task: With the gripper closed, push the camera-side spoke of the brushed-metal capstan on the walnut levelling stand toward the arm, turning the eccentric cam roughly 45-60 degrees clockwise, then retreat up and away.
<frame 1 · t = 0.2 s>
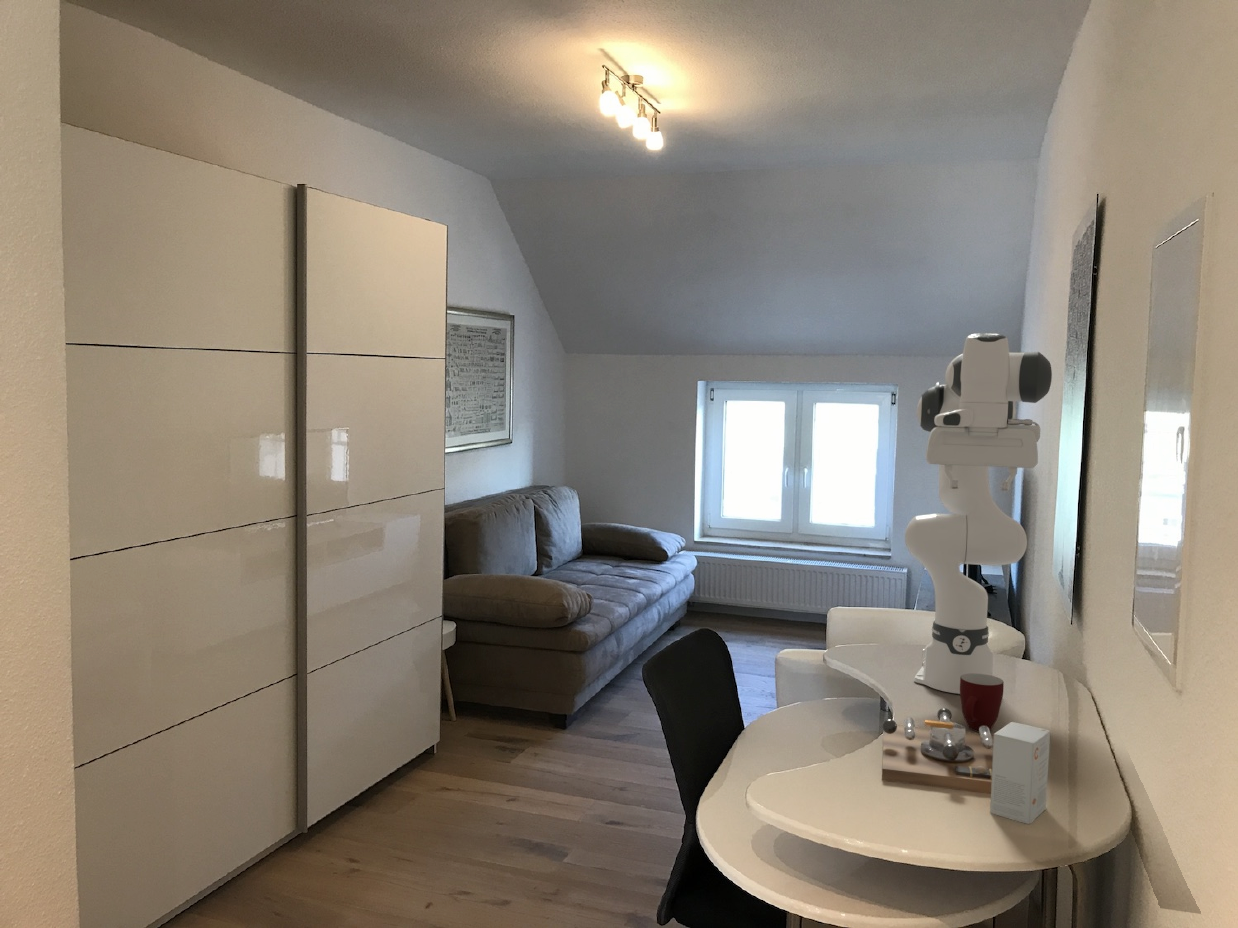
hand: (979, 489, 191), 48 cm above the table, fingers open, 8 cm apart
capstan: (946, 750, 177), point 2 cm above the table, hinge at 0.0°
mug: (977, 731, 195), on the table
small box: (1017, 812, 158), on the table
stand: (945, 762, 178), on the table
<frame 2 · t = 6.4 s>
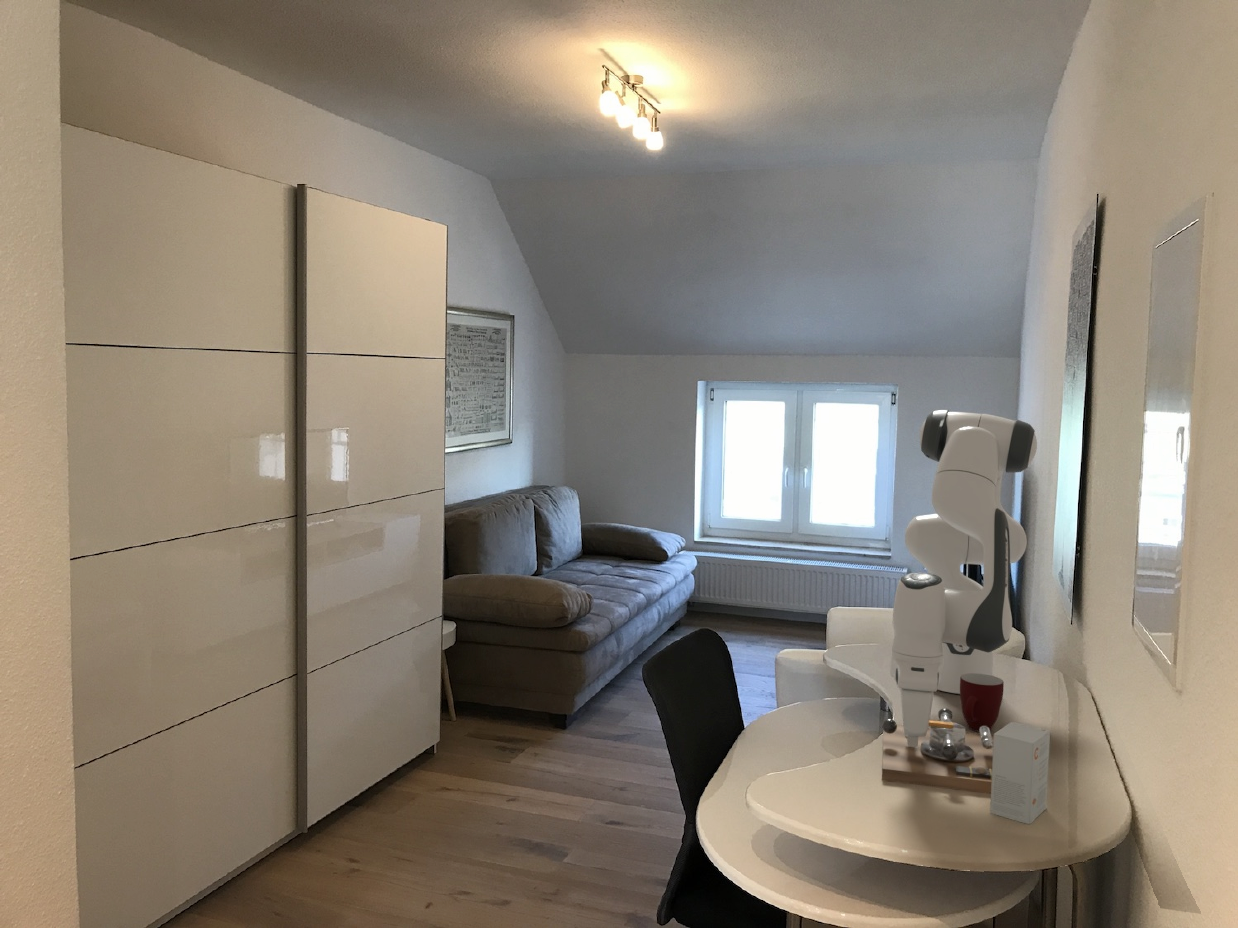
hand: (912, 744, 174), 4 cm above the table, fingers closed
capstan: (946, 750, 177), point 2 cm above the table, hinge at -0.8°, touching gripper
everything else where it was.
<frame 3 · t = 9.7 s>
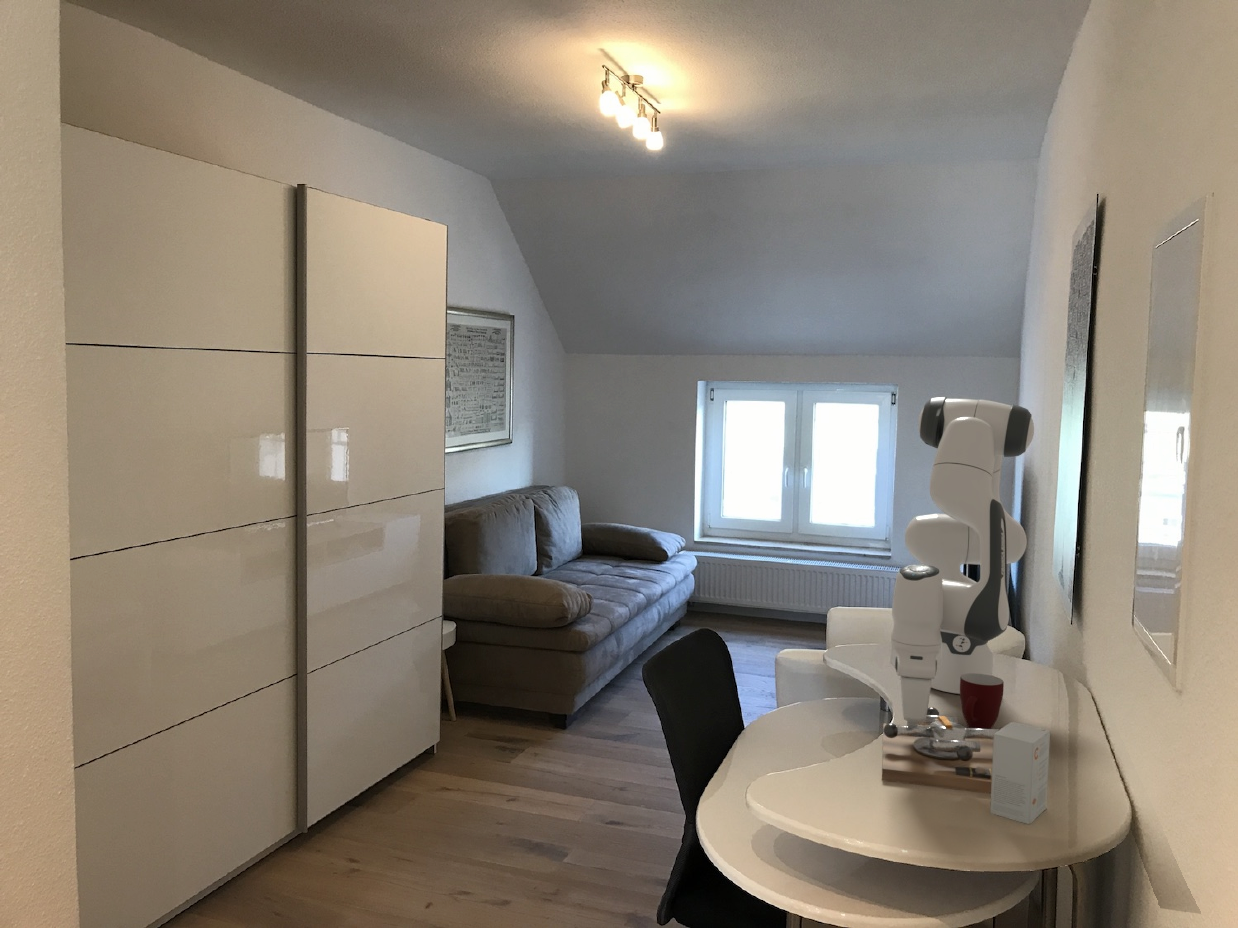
hand: (912, 730, 180), 5 cm above the table, fingers closed
capstan: (946, 750, 177), point 2 cm above the table, hinge at -76.9°, touching gripper
everything else where it was.
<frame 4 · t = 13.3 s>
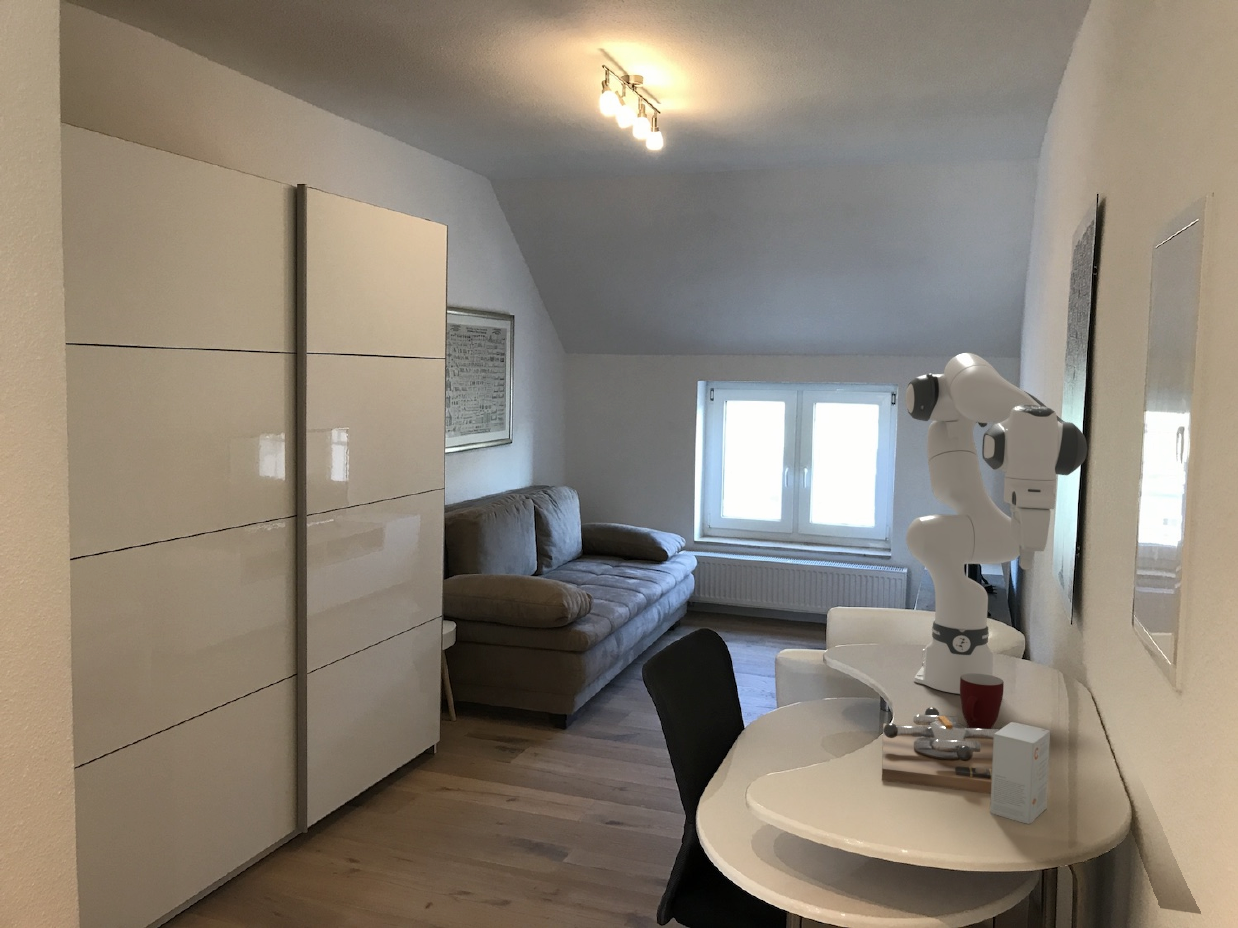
hand: (1025, 568, 183), 34 cm above the table, fingers closed
capstan: (946, 750, 177), point 2 cm above the table, hinge at -76.9°
everything else where it was.
at the end: capstan at -77° (first picture: +0°) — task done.
